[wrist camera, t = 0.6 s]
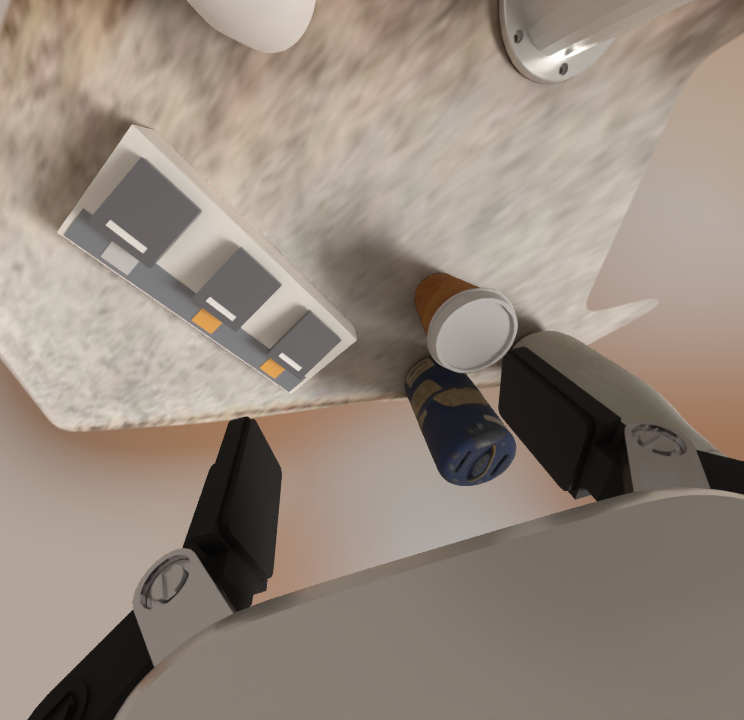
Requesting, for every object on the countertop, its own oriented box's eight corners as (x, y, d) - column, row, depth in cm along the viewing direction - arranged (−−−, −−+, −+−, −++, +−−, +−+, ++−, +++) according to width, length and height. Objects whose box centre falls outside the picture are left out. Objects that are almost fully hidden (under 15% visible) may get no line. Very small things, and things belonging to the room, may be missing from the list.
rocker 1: (146, 158, 24) (140, 156, 23) (203, 211, 26) (200, 211, 25) (93, 221, 24) (85, 222, 24) (153, 266, 27) (148, 268, 26)
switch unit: (155, 130, 26) (127, 122, 22) (353, 325, 40) (357, 342, 36) (86, 225, 29) (50, 233, 25) (292, 377, 43) (290, 397, 39)
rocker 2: (309, 309, 33) (310, 312, 32) (340, 337, 35) (341, 340, 34) (266, 351, 34) (266, 355, 33) (299, 376, 36) (300, 380, 35)
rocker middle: (241, 246, 28) (239, 247, 27) (281, 283, 31) (281, 285, 30) (193, 296, 29) (190, 299, 28) (236, 329, 32) (235, 332, 31)
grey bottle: (569, 321, 45) (836, 481, 22) (539, 375, 50) (729, 550, 27) (513, 316, 43) (743, 487, 20) (488, 373, 48) (646, 560, 25)
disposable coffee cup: (423, 248, 36) (463, 278, 26) (484, 275, 39) (541, 311, 29) (390, 316, 40) (414, 364, 30) (448, 335, 43) (487, 385, 33)
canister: (391, 387, 47) (425, 488, 32) (427, 341, 43) (484, 432, 28) (435, 406, 51) (484, 505, 36) (471, 366, 47) (543, 457, 32)
